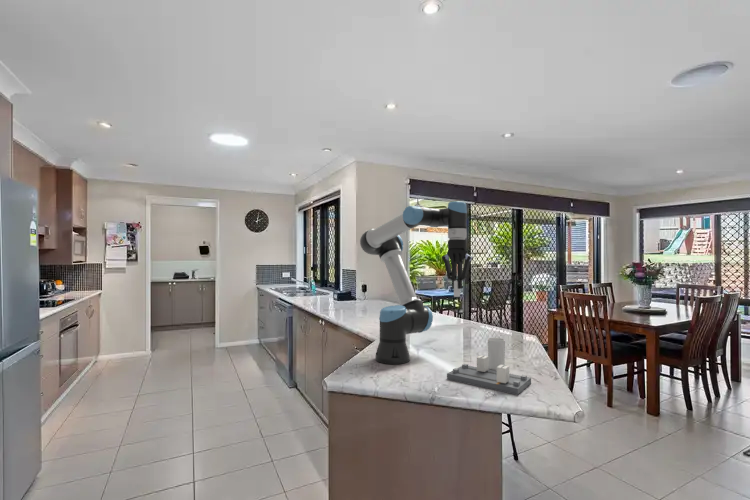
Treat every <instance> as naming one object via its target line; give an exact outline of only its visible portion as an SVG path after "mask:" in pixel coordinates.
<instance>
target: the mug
mask: <svg viewBox="0 0 750 500" xmlns="http://www.w3.org/2000/svg"><path fill="white" fill-rule="evenodd" d="M505 355H506V339H504V338H501V337H488V338H487V356H488V369H489V370H494V371H497V367H498V366H499V365H505V362H506V361H505V360H506V359H505V358H506V357H505Z"/></svg>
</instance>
